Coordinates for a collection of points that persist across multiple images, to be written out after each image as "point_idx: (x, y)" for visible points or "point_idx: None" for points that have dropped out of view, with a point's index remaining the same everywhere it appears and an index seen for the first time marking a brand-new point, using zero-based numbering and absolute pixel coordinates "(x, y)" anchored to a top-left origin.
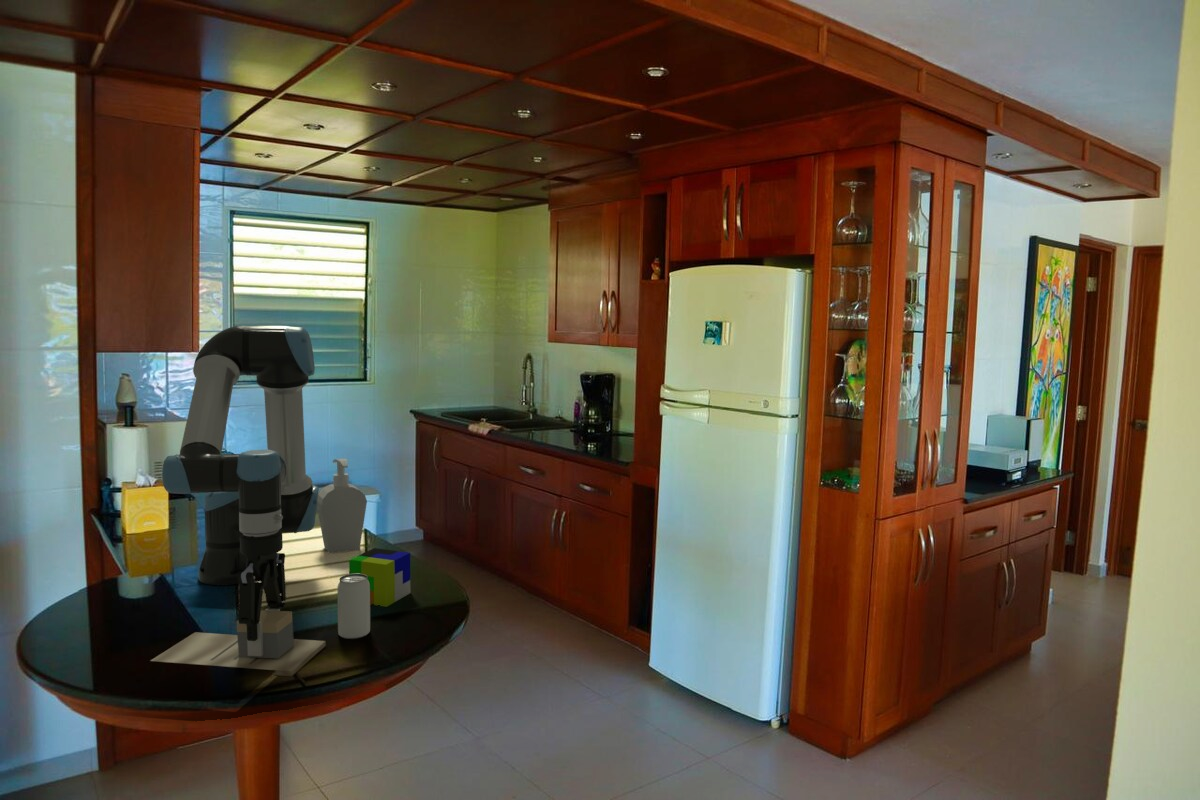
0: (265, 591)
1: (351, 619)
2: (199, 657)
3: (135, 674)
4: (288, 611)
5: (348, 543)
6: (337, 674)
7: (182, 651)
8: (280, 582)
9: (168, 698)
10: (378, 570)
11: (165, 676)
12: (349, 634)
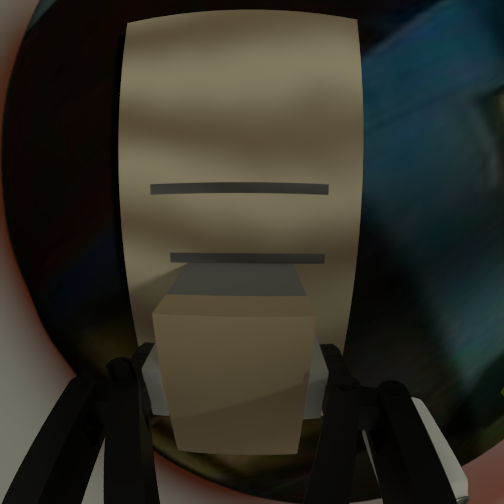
0: (316, 455)
1: (372, 463)
2: (164, 138)
3: (87, 37)
4: (296, 446)
5: None
6: (193, 457)
7: (201, 57)
8: (384, 493)
9: (7, 206)
10: None
11: (80, 112)
12: (363, 435)
